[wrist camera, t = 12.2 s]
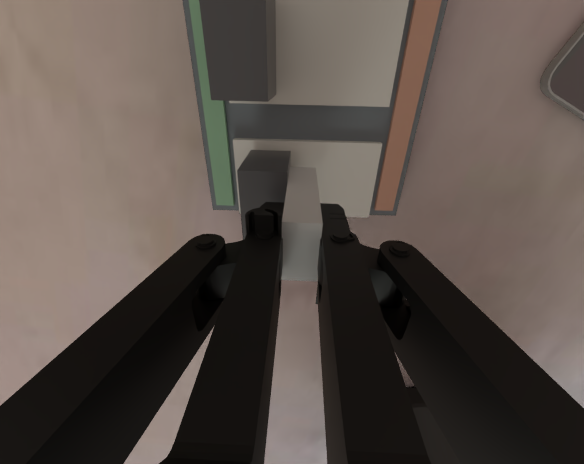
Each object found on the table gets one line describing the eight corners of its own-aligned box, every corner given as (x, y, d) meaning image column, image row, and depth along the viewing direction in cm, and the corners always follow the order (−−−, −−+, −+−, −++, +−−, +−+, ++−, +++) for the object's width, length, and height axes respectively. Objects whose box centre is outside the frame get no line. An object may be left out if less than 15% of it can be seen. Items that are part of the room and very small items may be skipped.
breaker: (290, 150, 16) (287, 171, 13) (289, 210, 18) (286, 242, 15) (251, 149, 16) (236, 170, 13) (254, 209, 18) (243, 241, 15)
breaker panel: (480, -219, 11) (523, -289, 9) (387, 203, 21) (397, 218, 19) (167, -219, 11) (135, -288, 9) (220, 198, 21) (210, 212, 19)
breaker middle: (275, -1, 13) (265, -28, 9) (276, 94, 15) (268, 101, 11) (224, -2, 13) (195, -29, 9) (232, 93, 15) (211, 100, 11)
